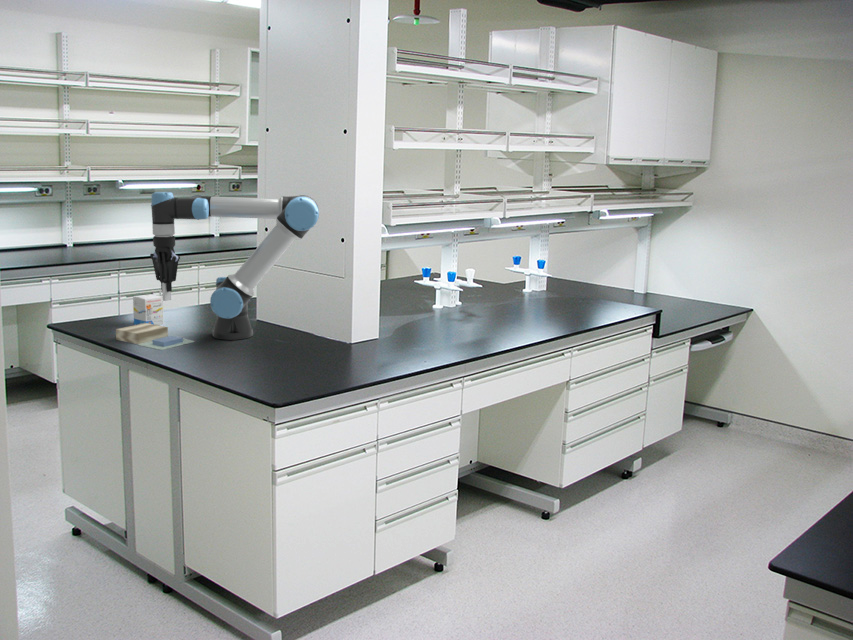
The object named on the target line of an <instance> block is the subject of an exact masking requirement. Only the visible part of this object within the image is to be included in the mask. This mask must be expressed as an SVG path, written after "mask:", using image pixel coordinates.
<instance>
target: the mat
mask: <svg viewBox="0 0 853 640" xmlns="http://www.w3.org/2000/svg"><path fill="white" fill-rule="evenodd" d="M191 343H195V340H191V339H186V338H183V342H182V343H177V344H173V345H169V346H165V347H163V346H158V345H153V342H152V341H151V342H147V343H142V344H137V346H139V347H143V346H144V348H149V349H153V350H158V351H165V350H168V349H172V348H176V347H180V346H184V345H187V344H191Z"/></svg>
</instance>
